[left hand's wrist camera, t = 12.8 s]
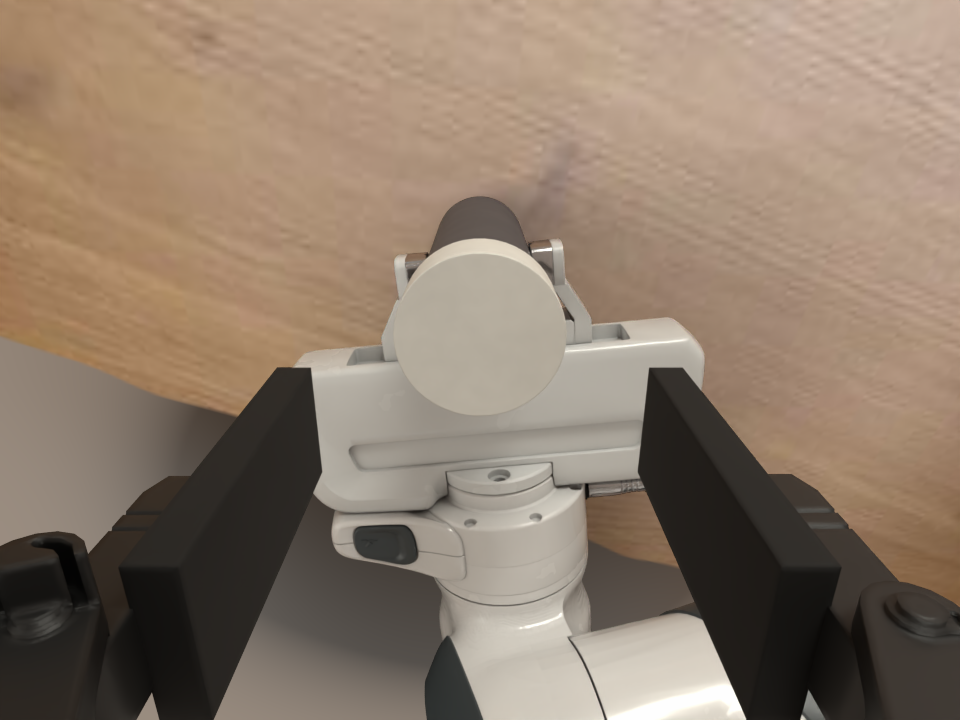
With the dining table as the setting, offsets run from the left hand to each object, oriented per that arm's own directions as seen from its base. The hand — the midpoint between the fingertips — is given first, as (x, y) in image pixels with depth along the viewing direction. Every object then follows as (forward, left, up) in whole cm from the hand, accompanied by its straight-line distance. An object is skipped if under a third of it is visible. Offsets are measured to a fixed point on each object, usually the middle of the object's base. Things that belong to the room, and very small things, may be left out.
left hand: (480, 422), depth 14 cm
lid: (0, 0, -6) cm, 6 cm away
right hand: (-1, +1, -15) cm, 15 cm away
